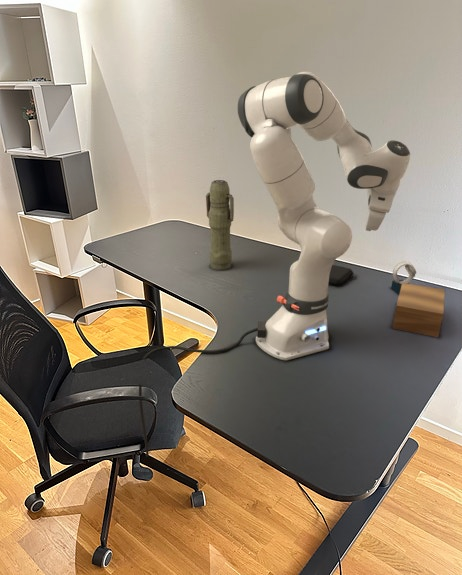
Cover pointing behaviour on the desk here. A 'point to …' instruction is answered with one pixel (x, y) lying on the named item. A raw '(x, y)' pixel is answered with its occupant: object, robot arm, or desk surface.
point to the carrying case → (339, 275)
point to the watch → (398, 283)
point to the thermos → (220, 224)
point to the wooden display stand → (419, 309)
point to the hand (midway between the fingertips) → (369, 219)
